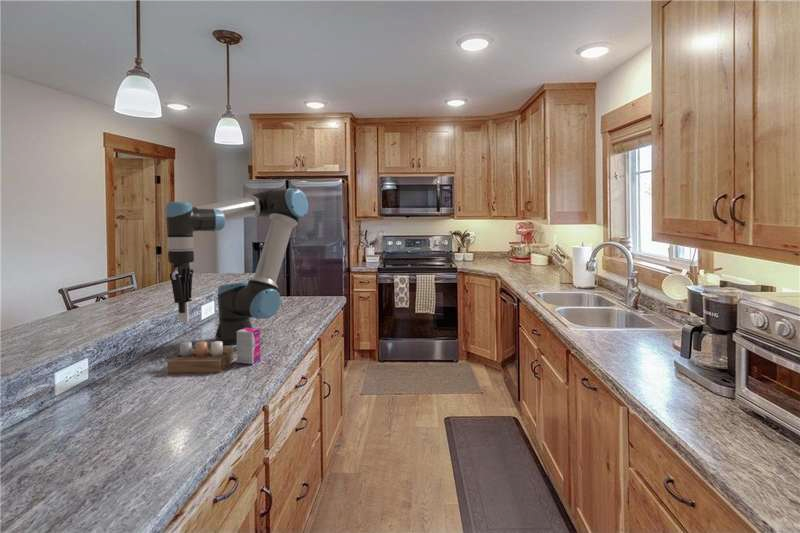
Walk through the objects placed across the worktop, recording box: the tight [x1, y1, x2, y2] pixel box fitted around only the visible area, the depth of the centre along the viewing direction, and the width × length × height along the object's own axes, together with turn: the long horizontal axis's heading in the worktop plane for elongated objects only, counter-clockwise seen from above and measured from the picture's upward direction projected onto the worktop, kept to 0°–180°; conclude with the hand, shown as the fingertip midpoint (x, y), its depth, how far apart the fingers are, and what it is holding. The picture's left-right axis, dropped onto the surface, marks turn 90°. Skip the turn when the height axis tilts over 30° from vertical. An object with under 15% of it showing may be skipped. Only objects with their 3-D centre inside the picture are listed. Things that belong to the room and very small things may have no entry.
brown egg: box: [195, 340, 209, 357], centre depth 151 cm, size 4×4×5 cm
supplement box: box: [236, 327, 261, 366], centre depth 155 cm, size 6×6×12 cm
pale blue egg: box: [179, 341, 193, 357], centre depth 151 cm, size 4×4×5 cm
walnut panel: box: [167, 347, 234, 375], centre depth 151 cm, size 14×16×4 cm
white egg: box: [210, 340, 224, 356], centre depth 151 cm, size 4×4×5 cm
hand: (184, 321), depth 150 cm, fingers closed
